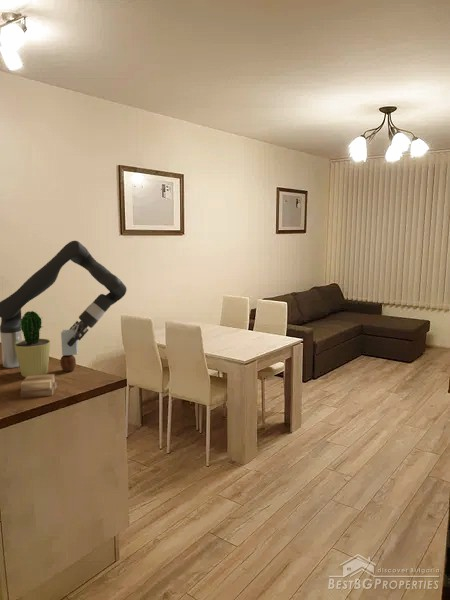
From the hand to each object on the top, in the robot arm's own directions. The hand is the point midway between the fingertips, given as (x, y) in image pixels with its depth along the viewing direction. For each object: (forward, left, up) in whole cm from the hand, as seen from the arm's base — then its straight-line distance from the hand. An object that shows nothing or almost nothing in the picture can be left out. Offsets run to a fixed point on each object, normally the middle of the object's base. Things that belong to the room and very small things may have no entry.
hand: (66, 343), depth 198 cm
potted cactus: (-13, -17, -17) cm, 28 cm away
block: (0, +1, -5) cm, 5 cm away
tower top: (+11, -10, -15) cm, 21 cm away
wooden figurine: (-14, -2, -17) cm, 23 cm away
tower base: (+12, -10, -18) cm, 23 cm away
